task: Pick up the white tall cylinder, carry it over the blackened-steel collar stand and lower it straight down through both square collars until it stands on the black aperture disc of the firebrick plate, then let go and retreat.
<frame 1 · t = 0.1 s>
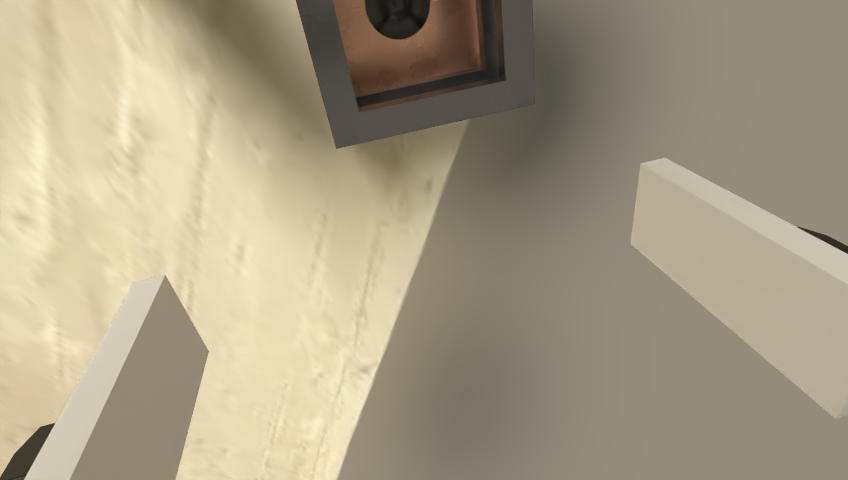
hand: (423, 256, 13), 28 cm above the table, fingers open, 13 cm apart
collar stand: (396, 3, 34), on the table
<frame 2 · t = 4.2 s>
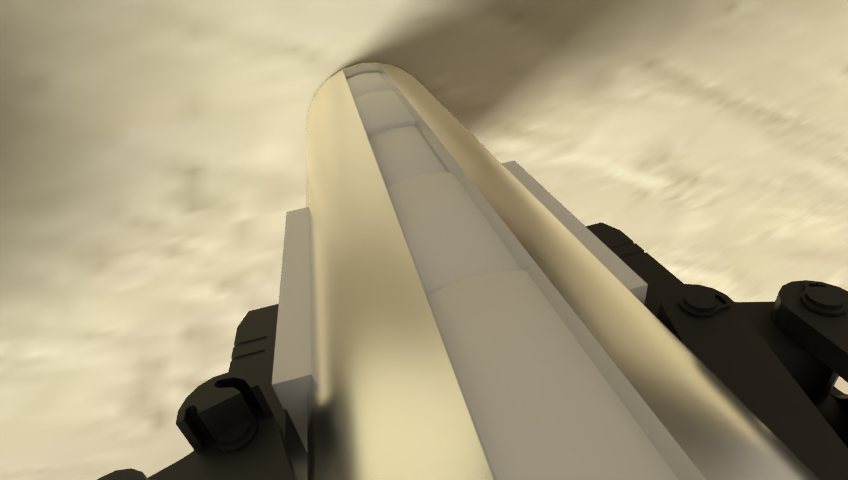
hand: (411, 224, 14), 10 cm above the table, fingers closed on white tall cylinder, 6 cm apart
white tall cylinder: (373, 129, 23), on the table, touching gripper
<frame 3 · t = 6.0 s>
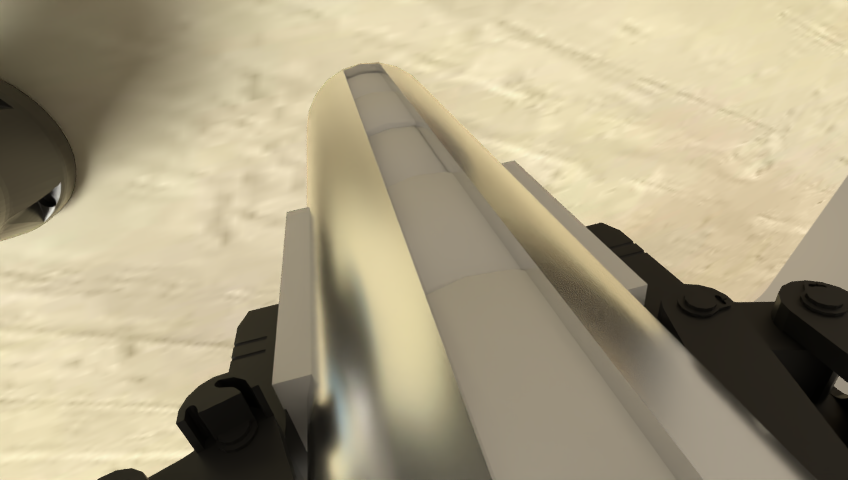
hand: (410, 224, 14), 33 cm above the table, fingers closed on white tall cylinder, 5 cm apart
white tall cylinder: (373, 129, 23), point 23 cm above the table, touching gripper
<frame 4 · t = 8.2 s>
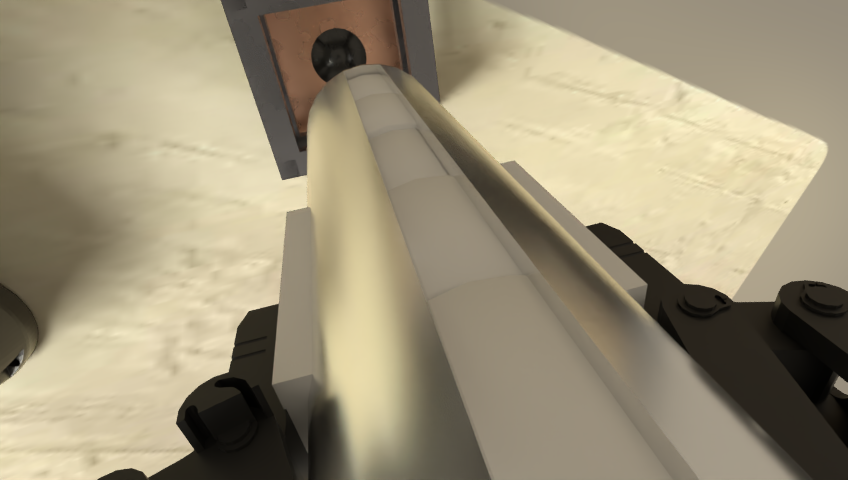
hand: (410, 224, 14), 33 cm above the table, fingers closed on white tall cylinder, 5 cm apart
collar stand: (338, 57, 42), on the table
white tall cylinder: (373, 130, 23), point 23 cm above the table, touching gripper
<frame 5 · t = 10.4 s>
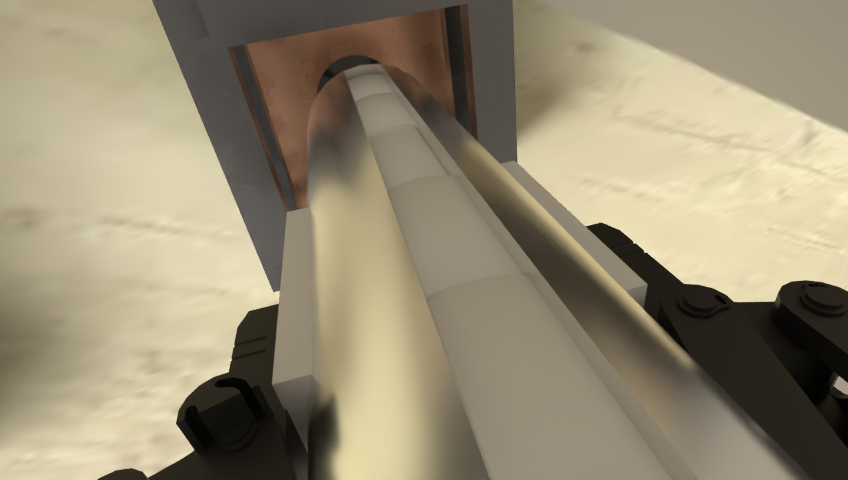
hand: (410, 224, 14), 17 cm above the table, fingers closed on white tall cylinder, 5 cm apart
collar stand: (357, 95, 29), on the table
white tall cylinder: (374, 130, 23), point 7 cm above the table, touching gripper
when the fingers open (11 cm above the table, at t = 12.1 s): white tall cylinder stays where it is, resting on collar stand.
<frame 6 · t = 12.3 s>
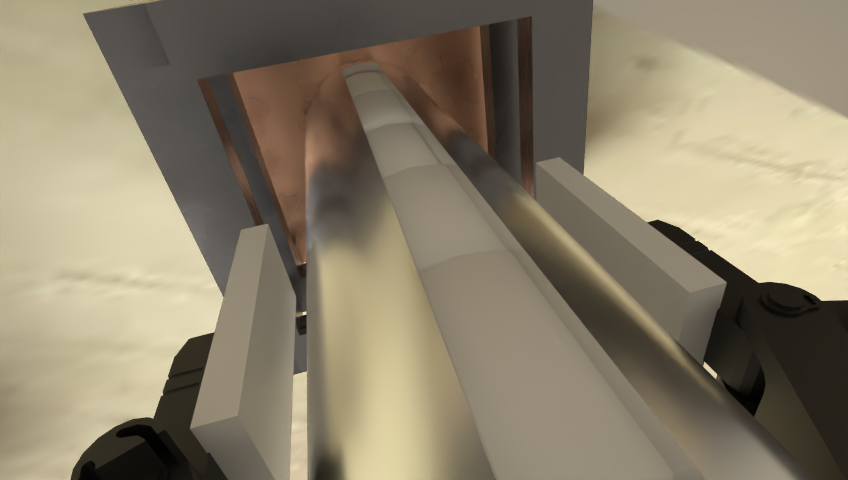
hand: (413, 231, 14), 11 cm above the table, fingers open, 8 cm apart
collar stand: (370, 123, 23), on the table
white tall cylinder: (370, 127, 23), resting on collar stand
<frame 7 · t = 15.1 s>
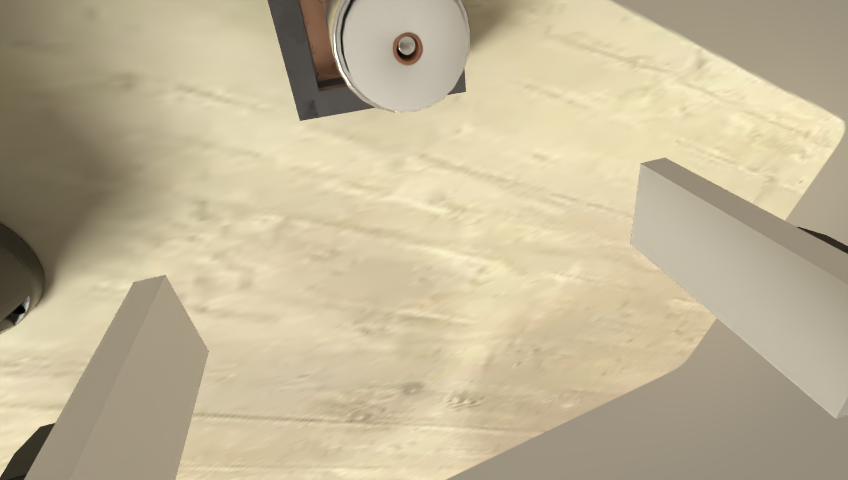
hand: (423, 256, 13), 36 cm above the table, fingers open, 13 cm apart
collar stand: (359, 4, 41), on the table
white tall cylinder: (359, 5, 41), resting on collar stand
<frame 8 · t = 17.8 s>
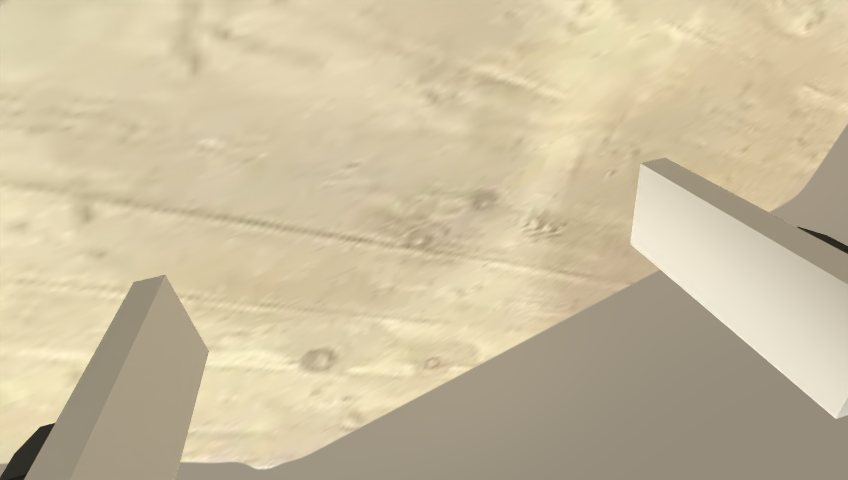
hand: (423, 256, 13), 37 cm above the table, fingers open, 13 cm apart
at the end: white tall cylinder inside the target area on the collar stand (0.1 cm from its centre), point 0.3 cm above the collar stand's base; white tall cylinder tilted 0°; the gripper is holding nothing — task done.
